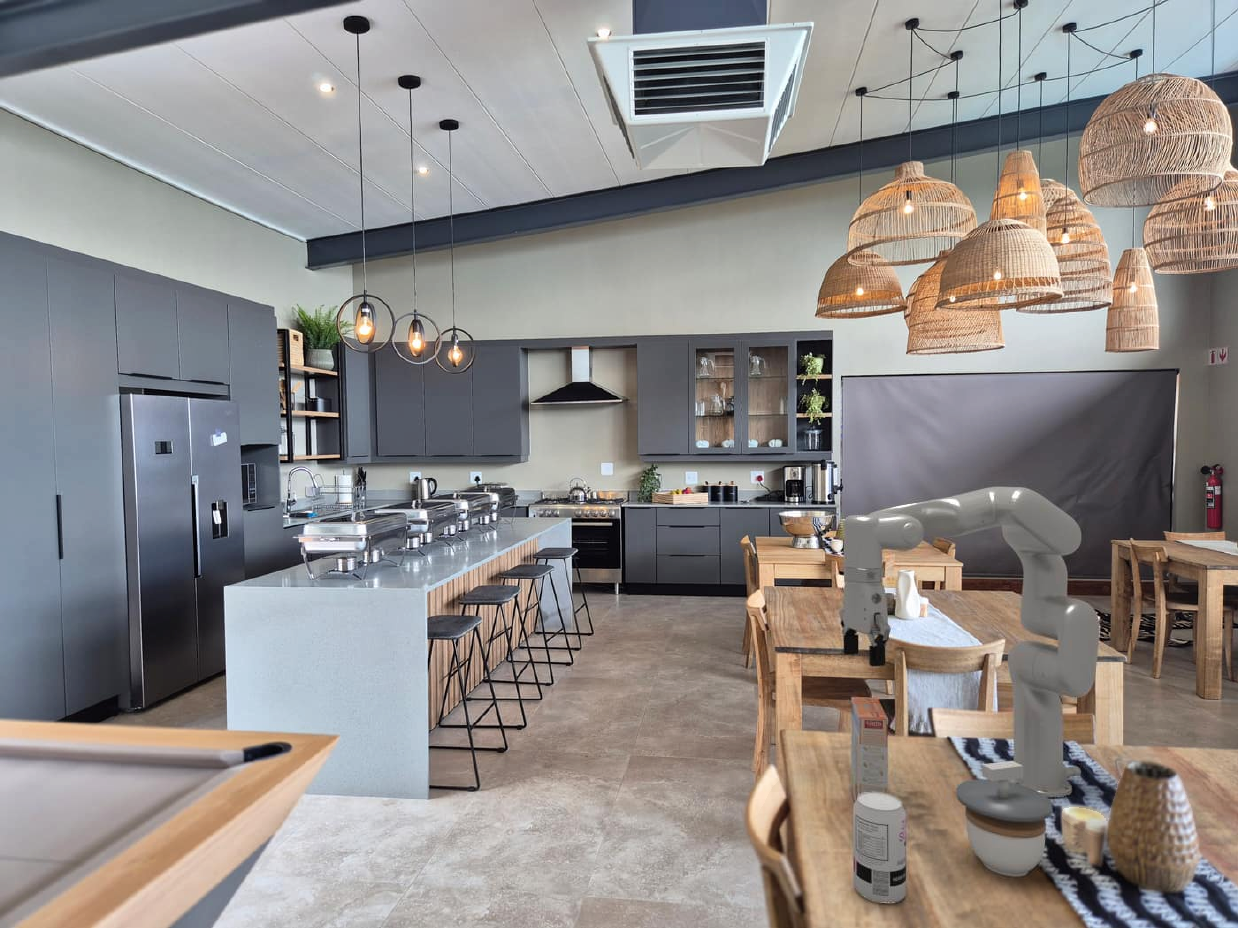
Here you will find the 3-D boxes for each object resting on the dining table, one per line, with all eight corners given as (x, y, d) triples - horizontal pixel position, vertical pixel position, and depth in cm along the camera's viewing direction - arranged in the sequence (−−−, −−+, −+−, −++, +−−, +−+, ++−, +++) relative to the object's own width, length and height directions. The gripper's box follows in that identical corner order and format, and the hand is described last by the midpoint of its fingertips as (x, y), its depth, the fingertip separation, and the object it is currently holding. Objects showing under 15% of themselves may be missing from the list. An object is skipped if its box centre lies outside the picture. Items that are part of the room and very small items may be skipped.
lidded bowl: (976, 840, 140) (975, 781, 140) (1052, 863, 132) (1052, 800, 132) (957, 868, 130) (956, 804, 130) (1038, 894, 122) (1037, 826, 122)
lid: (1007, 780, 141) (1006, 746, 141) (1073, 815, 126) (1072, 776, 126) (938, 789, 137) (937, 754, 137) (998, 826, 122) (997, 786, 122)
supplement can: (845, 879, 127) (845, 790, 127) (892, 877, 127) (892, 789, 128) (865, 907, 119) (865, 812, 119) (915, 904, 119) (915, 810, 120)
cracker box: (889, 824, 147) (889, 717, 147) (857, 821, 148) (857, 715, 148) (879, 794, 160) (879, 696, 161) (850, 792, 162) (849, 695, 162)
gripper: (904, 580, 145) (905, 669, 145) (856, 569, 162) (857, 648, 162) (870, 582, 143) (871, 671, 143) (825, 570, 160) (825, 650, 160)
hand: (863, 659), depth 152 cm, fingers open, 9 cm apart
